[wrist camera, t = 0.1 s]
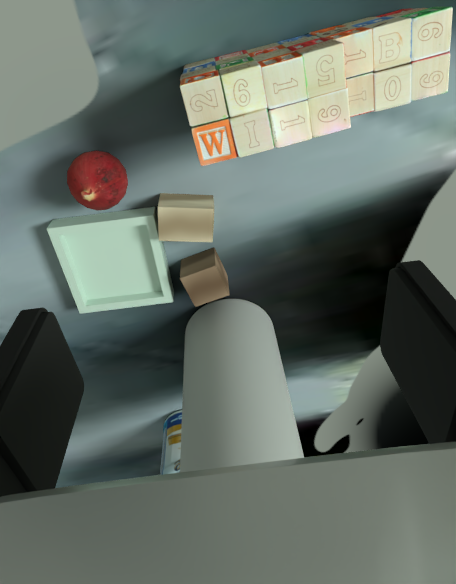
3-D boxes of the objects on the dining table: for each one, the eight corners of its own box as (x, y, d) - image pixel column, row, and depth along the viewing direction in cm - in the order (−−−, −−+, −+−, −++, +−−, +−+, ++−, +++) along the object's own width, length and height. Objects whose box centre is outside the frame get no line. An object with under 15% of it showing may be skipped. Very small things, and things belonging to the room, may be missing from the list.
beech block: (160, 192, 48) (157, 206, 44) (212, 194, 48) (214, 209, 45) (161, 224, 50) (158, 240, 47) (211, 226, 50) (212, 242, 47)
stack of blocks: (404, 5, 39) (478, 5, 29) (403, 78, 42) (468, 101, 32) (182, 65, 40) (177, 85, 30) (199, 130, 44) (199, 168, 34)
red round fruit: (109, 131, 43) (93, 153, 37) (142, 178, 46) (133, 206, 40) (65, 159, 45) (42, 186, 38) (100, 203, 48) (84, 235, 41)
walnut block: (181, 259, 53) (179, 278, 49) (214, 246, 52) (215, 265, 48) (195, 286, 55) (195, 306, 51) (227, 275, 54) (229, 294, 51)
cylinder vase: (269, 361, 63) (304, 533, 43) (187, 364, 63) (182, 540, 42) (275, 294, 56) (320, 460, 36) (183, 296, 56) (174, 467, 35)
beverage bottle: (153, 428, 71) (139, 556, 54) (181, 400, 67) (176, 528, 51) (194, 445, 74) (193, 571, 57) (223, 419, 70) (231, 545, 54)
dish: (52, 219, 48) (46, 228, 46) (155, 206, 48) (153, 215, 46) (84, 302, 55) (79, 313, 53) (174, 291, 55) (173, 302, 53)
